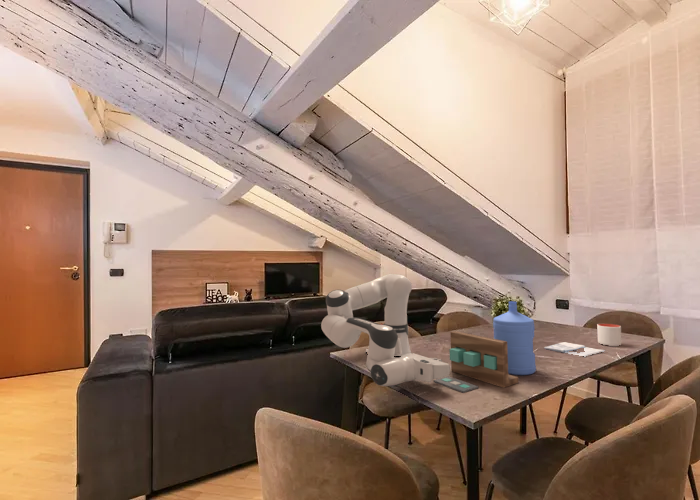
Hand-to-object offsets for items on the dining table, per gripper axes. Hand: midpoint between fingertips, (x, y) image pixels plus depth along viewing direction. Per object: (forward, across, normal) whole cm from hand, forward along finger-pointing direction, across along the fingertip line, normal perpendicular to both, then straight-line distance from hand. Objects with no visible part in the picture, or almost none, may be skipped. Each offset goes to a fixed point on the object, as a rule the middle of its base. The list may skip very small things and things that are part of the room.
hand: (439, 360), depth 139 cm
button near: (+15, +13, -2) cm, 20 cm away
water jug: (+35, +9, -8) cm, 37 cm away
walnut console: (+17, +7, -7) cm, 20 cm away
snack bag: (+86, +8, -8) cm, 86 cm away
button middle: (+12, +6, -2) cm, 14 cm away
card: (+1, +6, -8) cm, 10 cm away
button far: (+12, -1, -2) cm, 12 cm away
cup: (+111, +13, -7) cm, 112 cm away
